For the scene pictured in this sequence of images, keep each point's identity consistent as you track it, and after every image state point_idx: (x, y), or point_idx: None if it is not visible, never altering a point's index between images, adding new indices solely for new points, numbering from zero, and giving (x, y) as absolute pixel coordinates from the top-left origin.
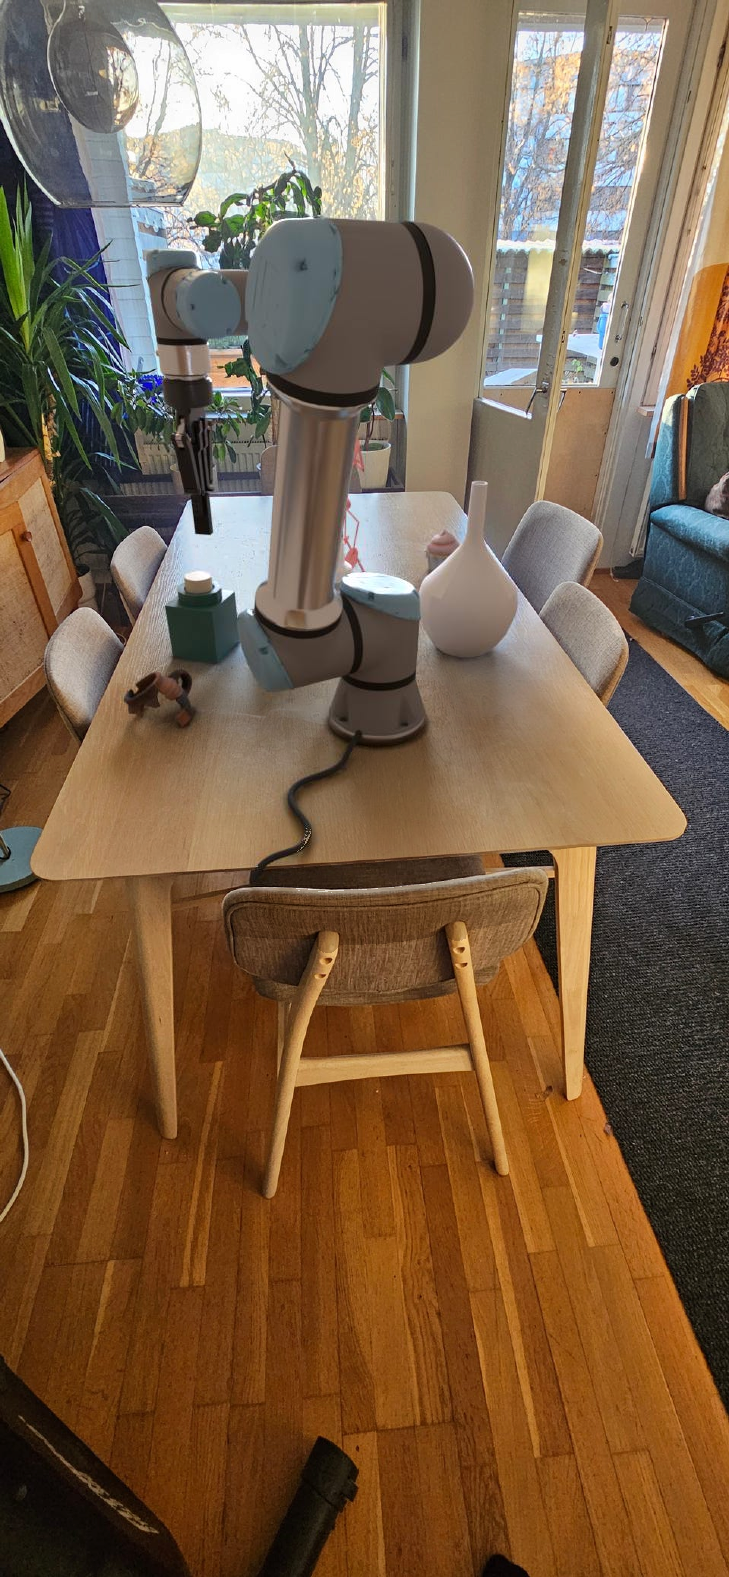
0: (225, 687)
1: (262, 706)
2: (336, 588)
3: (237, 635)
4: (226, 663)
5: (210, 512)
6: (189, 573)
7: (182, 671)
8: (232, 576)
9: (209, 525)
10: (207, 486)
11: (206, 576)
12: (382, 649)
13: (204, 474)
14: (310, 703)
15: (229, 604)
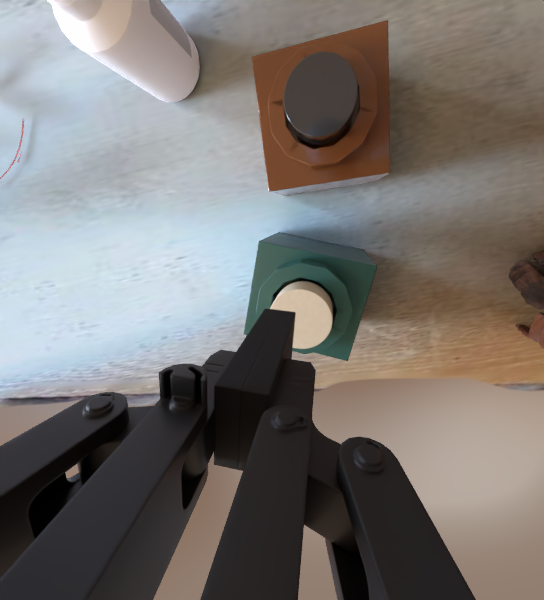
0: (452, 217)
1: (534, 131)
2: (155, 4)
3: (283, 234)
4: (361, 235)
5: (252, 339)
6: None
7: (542, 278)
8: (55, 294)
9: (289, 324)
10: (194, 416)
11: (302, 299)
12: None
13: (153, 502)
14: (534, 30)
15: (292, 245)
